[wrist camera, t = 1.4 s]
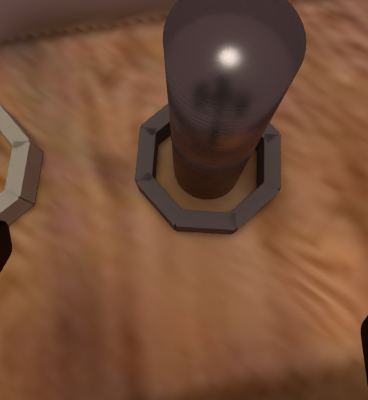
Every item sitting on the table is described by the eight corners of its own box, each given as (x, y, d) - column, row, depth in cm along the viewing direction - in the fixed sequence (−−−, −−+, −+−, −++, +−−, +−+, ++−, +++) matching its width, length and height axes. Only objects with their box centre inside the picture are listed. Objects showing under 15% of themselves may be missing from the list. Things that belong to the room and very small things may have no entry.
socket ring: (202, 261, 21) (204, 259, 19) (114, 162, 22) (108, 151, 21) (299, 172, 22) (310, 163, 20) (210, 84, 24) (213, 67, 22)
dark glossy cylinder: (204, 213, 22) (231, 131, 10) (160, 165, 22) (133, 32, 10) (252, 170, 22) (336, 42, 10) (208, 125, 23) (236, -45, 11)
